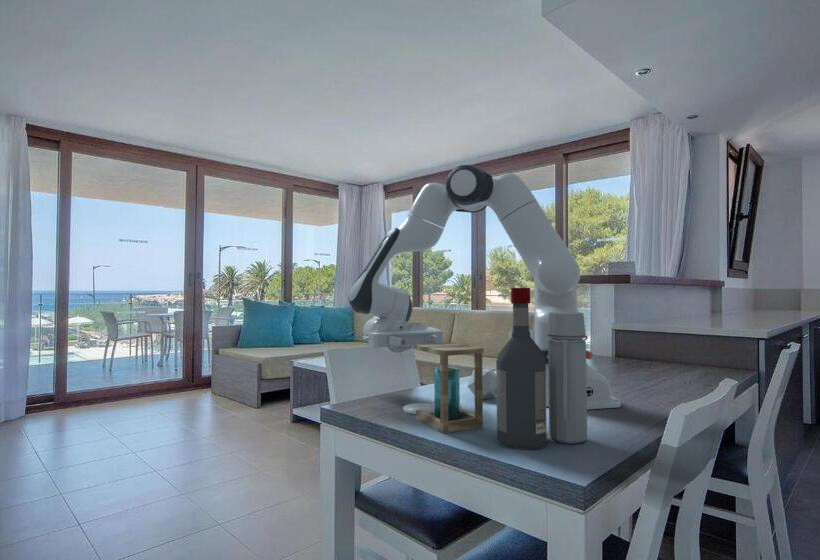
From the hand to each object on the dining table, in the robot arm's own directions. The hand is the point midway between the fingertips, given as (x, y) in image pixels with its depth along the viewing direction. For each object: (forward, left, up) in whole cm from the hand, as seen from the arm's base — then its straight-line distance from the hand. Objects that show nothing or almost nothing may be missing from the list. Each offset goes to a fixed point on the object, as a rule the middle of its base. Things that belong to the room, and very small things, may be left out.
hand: (419, 341), depth 116 cm
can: (-5, +11, -17) cm, 21 cm away
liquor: (-18, +25, -17) cm, 35 cm away
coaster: (0, 0, -17) cm, 17 cm away
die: (-18, -12, -17) cm, 28 cm away
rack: (-5, +11, -17) cm, 21 cm away
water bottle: (-27, +25, -17) cm, 41 cm away
